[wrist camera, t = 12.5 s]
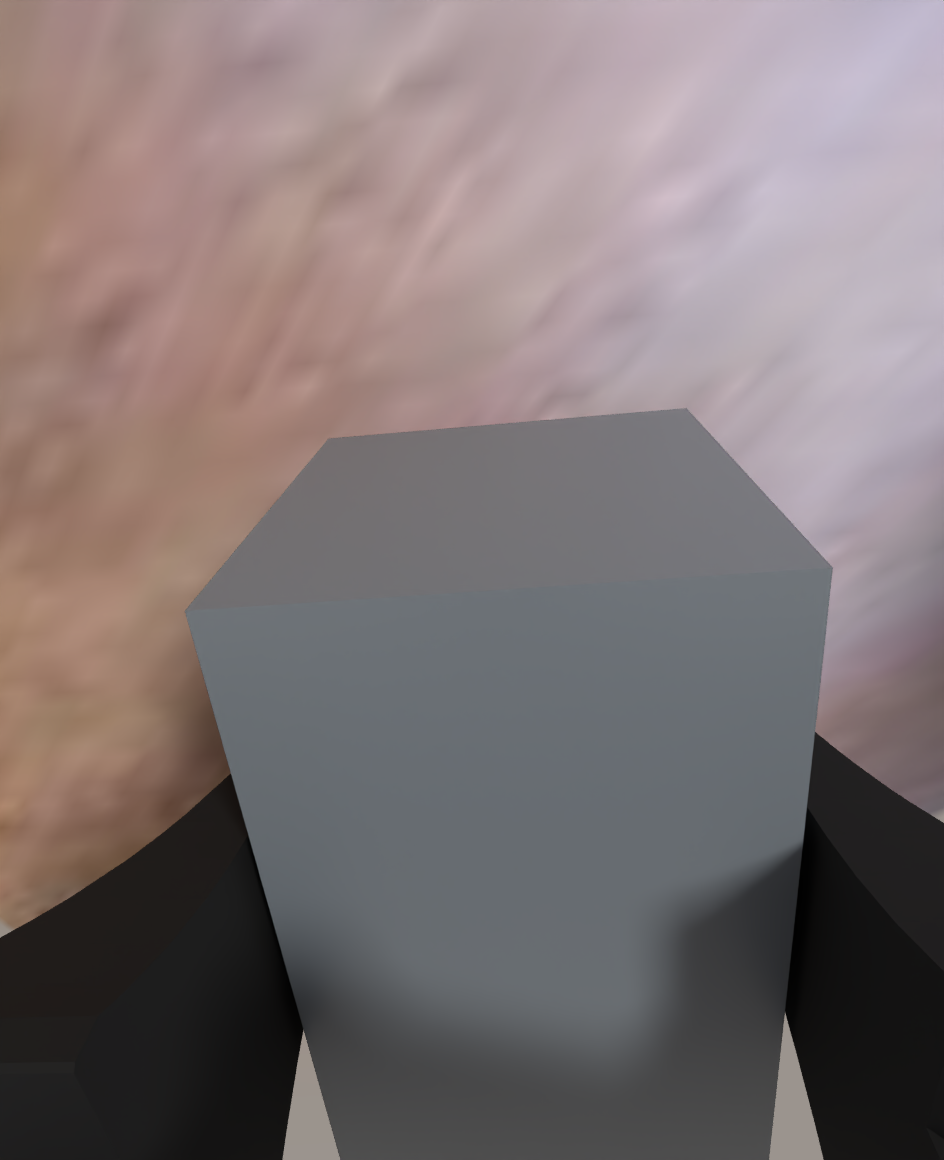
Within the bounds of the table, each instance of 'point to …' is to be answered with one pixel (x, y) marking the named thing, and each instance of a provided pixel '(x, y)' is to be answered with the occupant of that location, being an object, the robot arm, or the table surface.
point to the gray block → (528, 782)
